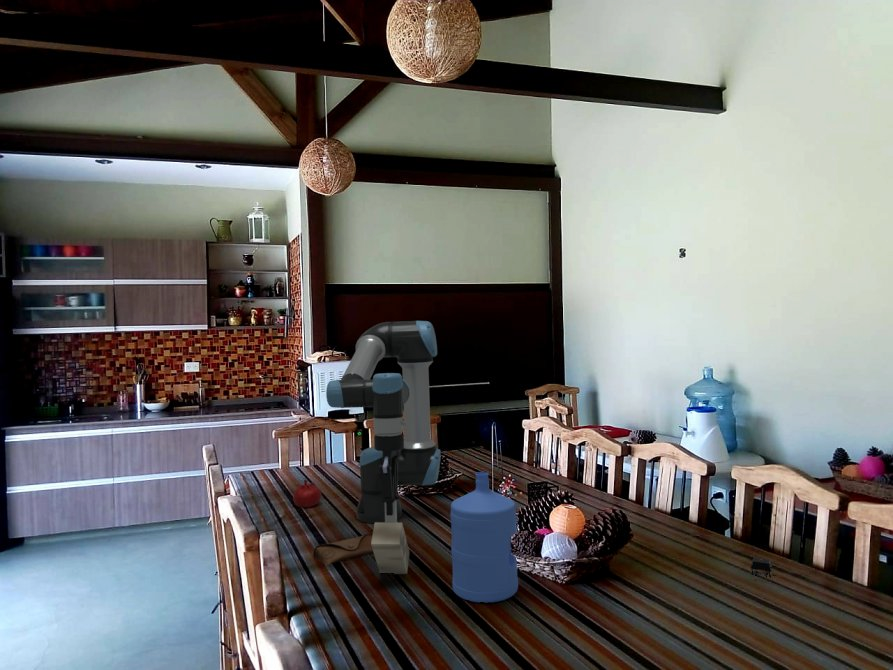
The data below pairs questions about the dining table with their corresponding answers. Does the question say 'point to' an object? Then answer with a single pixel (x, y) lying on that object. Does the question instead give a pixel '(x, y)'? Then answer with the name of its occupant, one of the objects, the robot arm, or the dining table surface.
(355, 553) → the sunglasses case
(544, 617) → the dining table surface
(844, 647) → the dining table surface
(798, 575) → the dining table surface
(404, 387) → the robot arm
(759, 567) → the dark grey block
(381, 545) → the cream and teal box
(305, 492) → the pomegranate
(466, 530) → the water jug
